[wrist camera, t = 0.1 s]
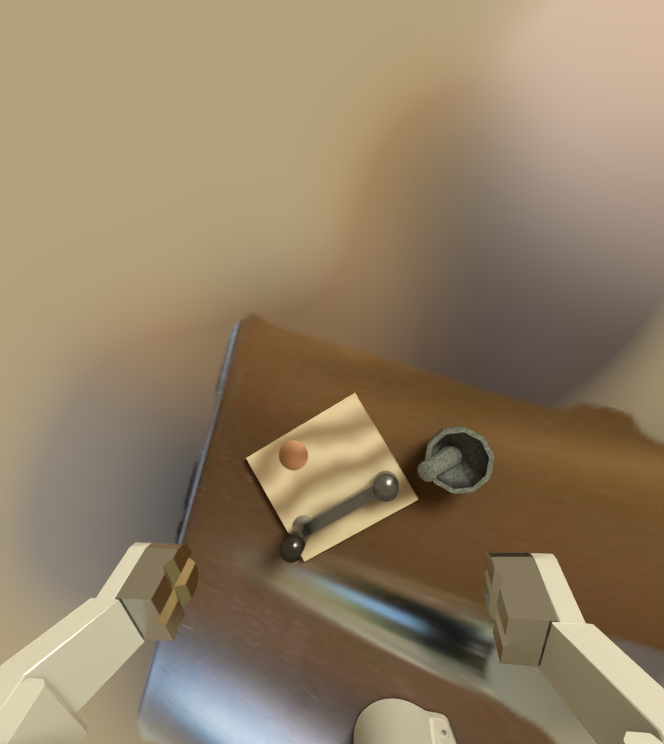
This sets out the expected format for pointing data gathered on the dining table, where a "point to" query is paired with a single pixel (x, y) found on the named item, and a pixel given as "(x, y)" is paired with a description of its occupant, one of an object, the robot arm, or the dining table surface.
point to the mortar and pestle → (457, 460)
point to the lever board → (329, 473)
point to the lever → (338, 513)
